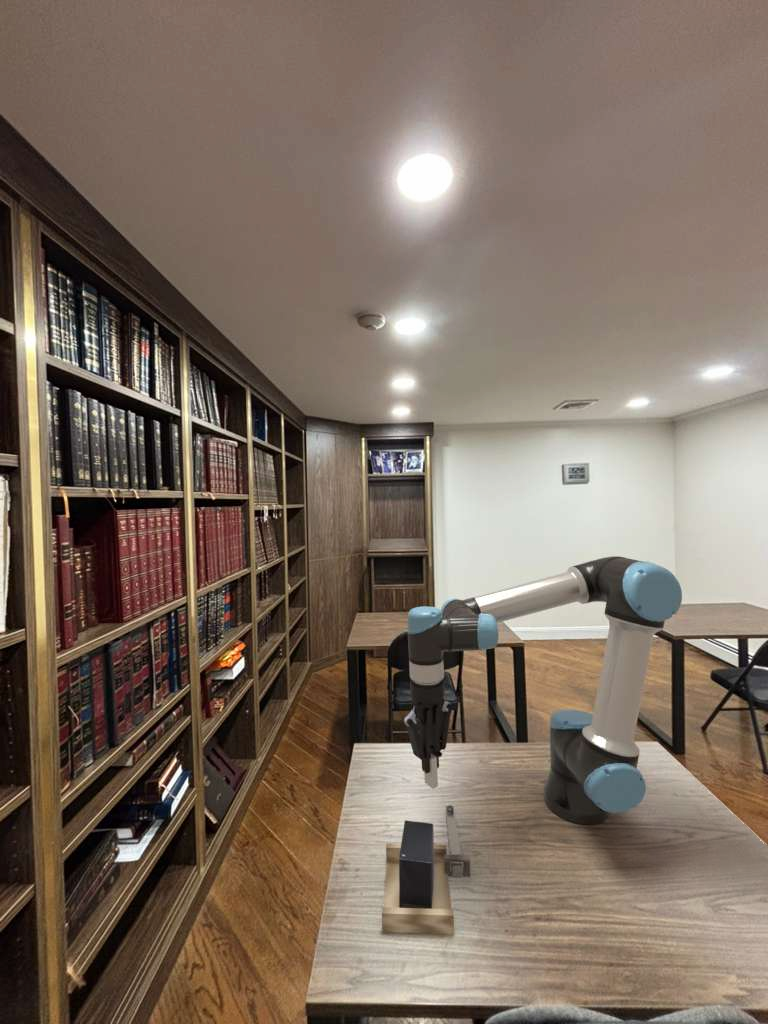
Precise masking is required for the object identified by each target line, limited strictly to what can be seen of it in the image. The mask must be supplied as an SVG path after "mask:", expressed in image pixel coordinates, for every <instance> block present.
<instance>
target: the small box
mask: <svg viewBox="0 0 768 1024" xmlns="http://www.w3.org/2000/svg"><path fill="white" fill-rule="evenodd" d="M434 838H435V835H434V824H433V823H430V822H421V821H411V820H404V824H403V829H402V837H401V843H400V844H401V849H400V855H399V908H424V909H432V898H433V883H434V844H435V841H434V840H435V839H434Z"/></svg>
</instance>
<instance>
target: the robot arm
mask: <svg viewBox="0 0 768 1024" xmlns="http://www.w3.org/2000/svg"><path fill="white" fill-rule="evenodd" d="M682 600H683V591H682V587H681V584H680V582H679V580H678V579H677V578H676V576H675V575H674V574H673V572H671V571H670V570H669V569H667V568H665V567H663V566H661V565H658V564H656V563H654V562H649V561H644V560H643V561H642V560H638V559H632V558H629V557H624V556H618V555H617V556H613V555H612V556H607V557H602V558H599V559H594V560H593V559H592V560H590V561H587V562H582V563H580V564H577V565H572V566H569V567H568V569H567V570H566V571H565V572H562V573H559V574H555V575H552V576H547V577H545V578H540V579H537V580H533V581H529V582H525V583H521V584H518V585H515V586H510V587H508V588H503V589H500V590H496V591H492V592H487V593H485V594H481V595H478V596H474V597H470V598H466V599H459V598H450V599H448V600H446V601H445V602H444V603H443V604H442V606H441V608H438V607H436V606H423V605H422V606H417V607H413V608H411V609H410V610H409V612H408V614H407V629H406V630H407V641H408V642H407V643H408V645H407V647H408V662H409V663H408V664H409V665H408V666H409V678H410V680H409V688H410V698H411V701H412V702H411V706H410V712H409V713H408V714H407V715H403V716H402V717H401V720H402V722H403V723H404V725H405V727H406V731H407V734H408V738H409V741H410V746H411V750H412V753H413V755H414V756H415V757H417V758H418V759H419V760H421V770H422V771H423V772H424V773H423V775H424V783H425V784H426V785H427V786H429V787H430V788H431V789H432V790H434V789H436V788H437V787H438V786H439V781H438V779H439V778H438V769H439V768H440V758H441V757H442V755H443V752H441V751H442V750H443V751H445V749H446V748H447V741H448V734H449V727H450V721H451V720H450V719H451V714H452V711H453V709H454V704H452V703H451V702H449V701H447V700H445V698H444V697H445V695H446V694H445V691H446V689H445V679H444V678H445V668H444V652H463V651H464V652H465V651H483V650H489V649H494V648H496V647H497V646H498V642H499V628H498V627H499V626H498V624H499V623H503V622H506V621H510V620H513V619H517V618H521V617H524V616H528V615H532V614H537V613H539V612H543V611H547V610H551V609H553V608H554V609H555V608H558V607H562V606H566V605H569V604H573V603H577V602H578V603H579V604H582V605H584V604H585V605H586V604H590V603H593V602H595V603H596V602H600V603H601V602H602V603H605V608H604V613H603V615H604V616H605V617H606V618H607V620H608V621H609V626H608V627H609V628H608V634H607V638H606V643H605V649H604V655H603V659H602V666H601V670H600V674H599V679H598V687H597V691H596V696H595V697H596V698H595V701H594V705H593V706H594V707H593V712H592V713H591V712H589V711H584V710H579V709H571V708H570V709H568V708H567V709H560V710H556V711H554V712H553V713H552V714H551V715H550V720H549V727H548V728H549V745H550V746H549V747H550V749H549V751H550V752H549V753H550V754H549V755H550V770H549V772H548V775H547V778H546V780H545V783H544V787H543V798H544V799H543V800H544V802H545V804H546V806H547V807H548V808H549V810H551V812H553V814H555V815H557V816H558V817H560V818H562V819H563V820H566V821H568V822H571V823H575V824H579V825H596V824H600V823H602V822H604V821H605V820H606V819H607V818H608V816H609V813H611V814H623V813H627V812H629V811H630V810H631V809H635V808H636V807H637V806H639V805H640V803H641V802H642V800H643V799H644V797H645V794H646V790H647V785H646V780H645V778H644V777H643V774H642V773H641V771H640V770H638V763H639V758H640V749H639V747H638V745H637V744H636V742H635V740H634V739H635V733H636V730H637V723H638V718H639V714H640V708H641V703H642V697H643V692H644V686H645V681H646V676H647V671H648V666H649V660H650V655H651V649H652V645H653V640H654V639H653V638H654V635H655V634H657V633H658V632H660V631H662V630H664V626H665V623H666V622H665V621H667V620H669V619H671V618H672V617H673V615H676V614H678V613H677V612H678V611H679V609H680V607H681V606H682V602H683V601H682ZM417 725H418V727H417Z"/></svg>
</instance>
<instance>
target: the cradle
mask: <svg viewBox="0 0 768 1024" xmlns="http://www.w3.org/2000/svg"><path fill="white" fill-rule="evenodd" d="M400 849H401V843H386V844H385V856H386V857H385V860H386V861H385V862H386V864H385V877H384V893H383V894H384V896H383V897H384V898H383V906H382V907H381V929H382V930H381V932H382V933H396V934H397V933H398V934H425V935H426V934H427V935H455V914H454V908H453V907H452V900H451V899H452V898H451V891H450V883H449V877H452V865H451V862H462V864H463V875H464V877H471V860H470V859H471V858H470V854H461V855H450V854H448V853H447V844H439V843H437V844H436V843H434V883H433V898H432V909H424V908H399V855H400Z"/></svg>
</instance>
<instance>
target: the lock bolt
mask: <svg viewBox="0 0 768 1024" xmlns="http://www.w3.org/2000/svg"><path fill="white" fill-rule="evenodd" d="M444 807H445V821H446V833H447V837H448V847H449V848H448V849H449V855H462V853H461V848H460V841H459V833H458V828H457V821H456V813H455V807H454V805H451V804H450V805H445V806H444ZM451 875H452V877H453V878H463V875H464V872H463V862H451Z"/></svg>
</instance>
